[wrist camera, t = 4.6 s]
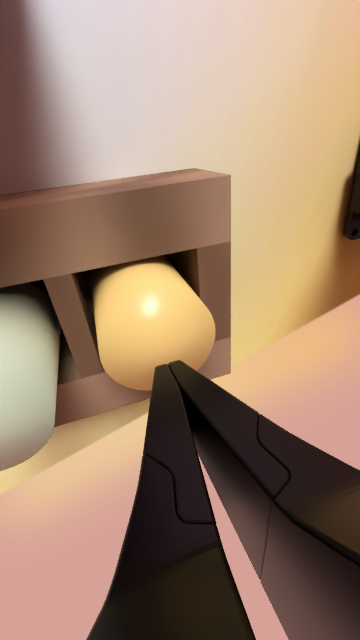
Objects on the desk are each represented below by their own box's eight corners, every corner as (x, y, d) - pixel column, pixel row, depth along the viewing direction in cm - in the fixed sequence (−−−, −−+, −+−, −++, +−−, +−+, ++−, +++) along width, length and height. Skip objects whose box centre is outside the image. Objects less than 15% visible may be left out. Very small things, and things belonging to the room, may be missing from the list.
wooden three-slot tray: (193, 168, 14) (230, 175, 11) (204, 335, 19) (230, 373, 16) (-356, 245, 10) (-569, 295, 7) (-148, 429, 15) (-209, 507, 12)
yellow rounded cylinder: (167, 234, 15) (213, 278, 10) (175, 308, 17) (216, 372, 12) (79, 250, 14) (83, 308, 9) (101, 326, 16) (114, 403, 11)
